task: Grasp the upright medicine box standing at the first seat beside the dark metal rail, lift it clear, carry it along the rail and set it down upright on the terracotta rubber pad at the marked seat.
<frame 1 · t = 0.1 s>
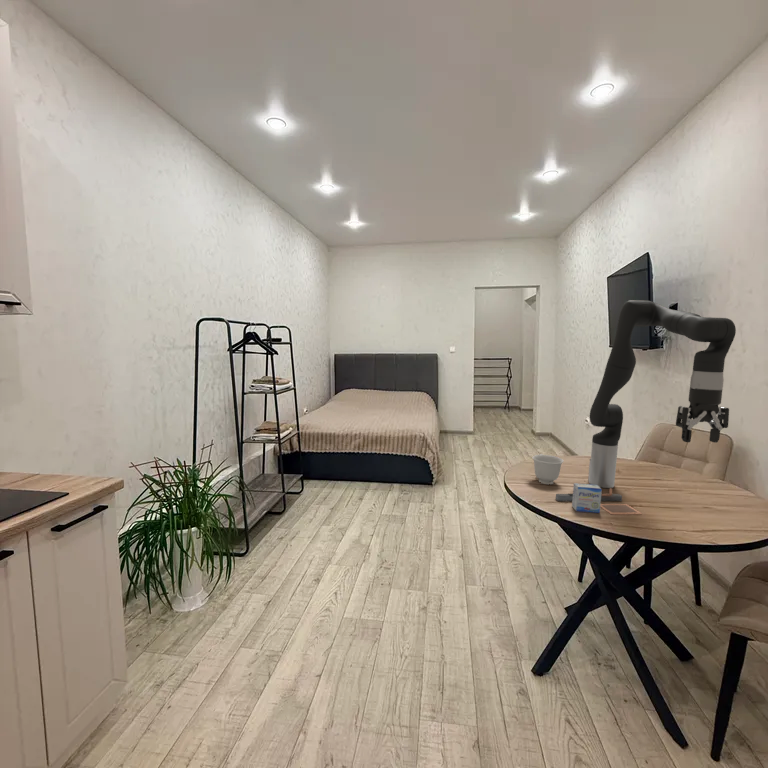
hand: (699, 441, 121), 29 cm above the table, fingers open, 8 cm apart
rail: (588, 500, 152), on the table
medicine box: (585, 510, 143), on the table
teacup: (544, 481, 171), on the table
pad: (618, 509, 144), on the table
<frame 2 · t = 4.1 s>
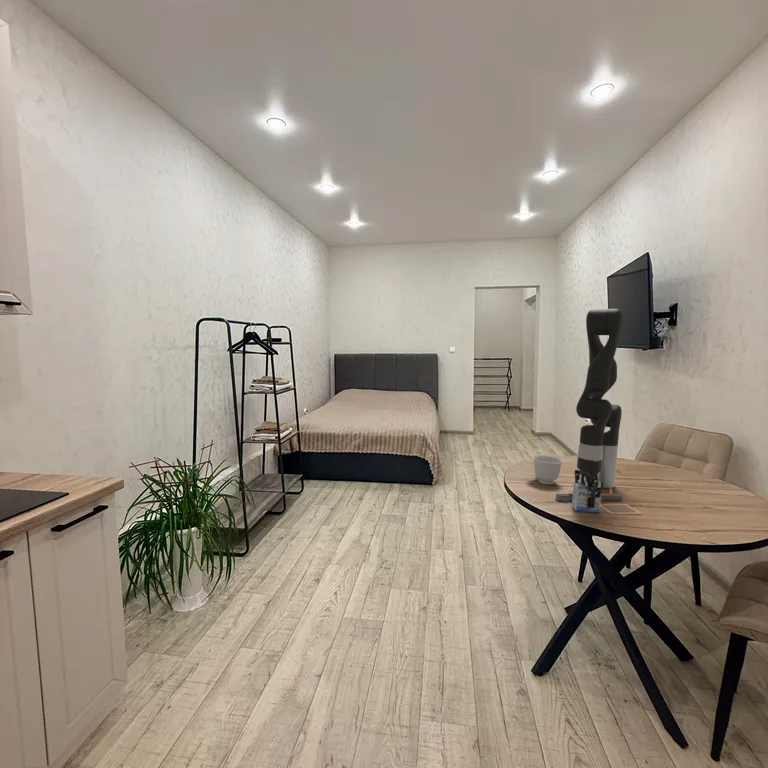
hand: (586, 504, 143), 2 cm above the table, fingers closed on medicine box, 5 cm apart
medicine box: (585, 510, 143), on the table, touching gripper
everything else where it was.
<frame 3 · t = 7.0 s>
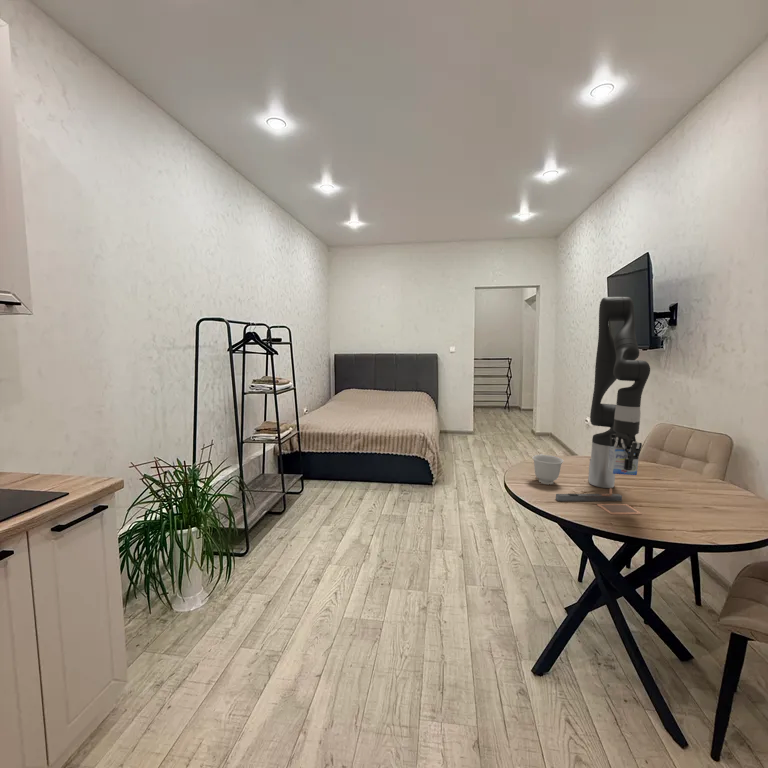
hand: (622, 467, 142), 15 cm above the table, fingers closed on medicine box, 5 cm apart
medicine box: (621, 473, 142), point 13 cm above the table, touching gripper
everything else where it was.
when the fingers open (3 cm above the table, at t = 9.8 s): medicine box stays where it is, resting on pad.
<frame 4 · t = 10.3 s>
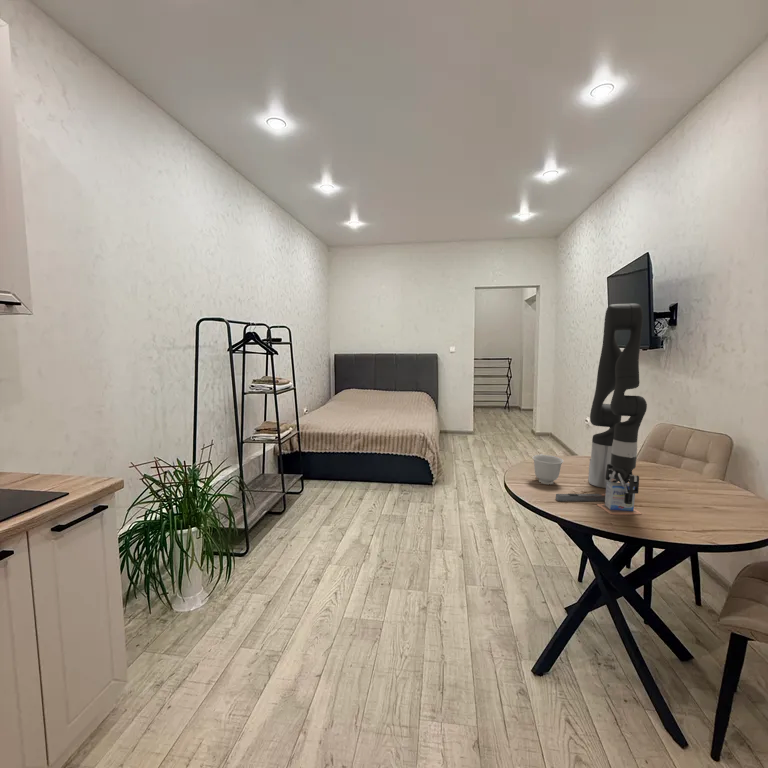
hand: (619, 498, 143), 4 cm above the table, fingers open, 8 cm apart
medicine box: (618, 508, 144), resting on pad
everything else where it was.
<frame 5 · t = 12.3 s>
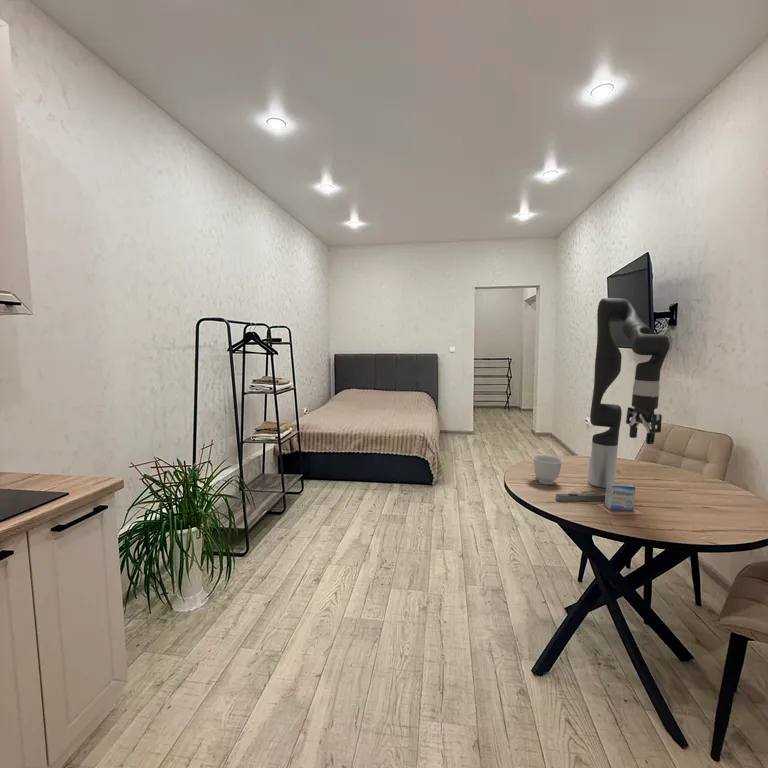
hand: (641, 440, 141), 25 cm above the table, fingers open, 8 cm apart
nothing on the table moved.
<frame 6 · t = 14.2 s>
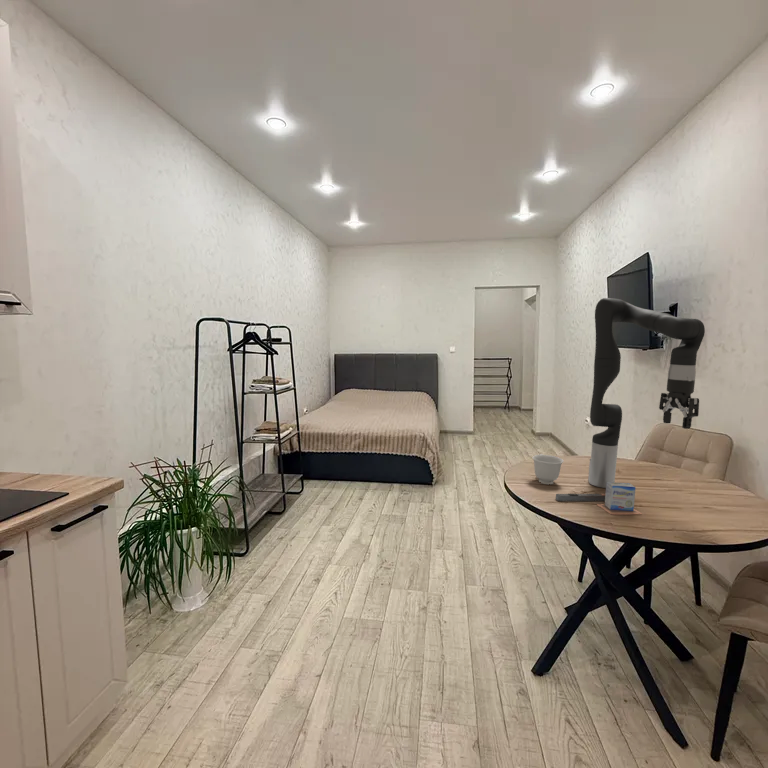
hand: (676, 425, 141), 30 cm above the table, fingers open, 8 cm apart
nothing on the table moved.
at the end: medicine box inside the target area on the pad (0.2 cm from its centre), point 0.2 cm above the pad's base; medicine box tilted 0°; the gripper is holding nothing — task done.
